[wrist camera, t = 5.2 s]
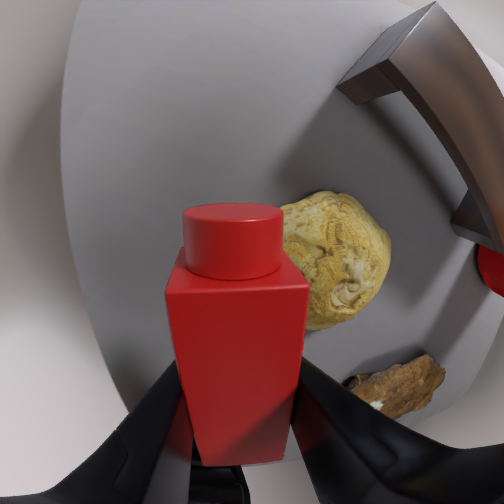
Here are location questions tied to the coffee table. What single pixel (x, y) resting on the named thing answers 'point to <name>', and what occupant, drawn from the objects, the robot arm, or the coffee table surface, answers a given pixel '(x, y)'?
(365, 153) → the coffee table surface
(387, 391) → the decorative rock
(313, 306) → the fossil
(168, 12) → the coffee table surface
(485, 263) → the water bottle
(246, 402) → the red square bottle
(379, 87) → the shelf
